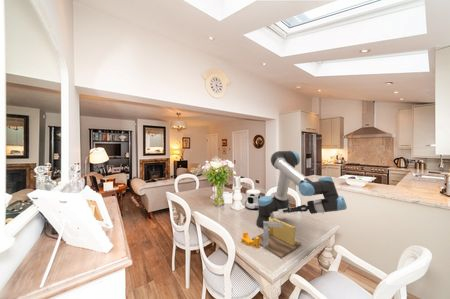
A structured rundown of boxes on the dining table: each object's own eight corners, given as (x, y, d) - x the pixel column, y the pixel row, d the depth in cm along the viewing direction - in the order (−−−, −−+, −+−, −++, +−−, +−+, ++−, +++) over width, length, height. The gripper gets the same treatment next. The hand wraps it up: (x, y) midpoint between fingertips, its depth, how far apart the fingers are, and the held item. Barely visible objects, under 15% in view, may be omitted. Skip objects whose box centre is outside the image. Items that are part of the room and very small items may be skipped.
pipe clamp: (241, 242, 123) (241, 233, 123) (245, 240, 126) (245, 231, 126) (255, 249, 115) (255, 240, 114) (259, 246, 118) (259, 237, 118)
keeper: (263, 248, 116) (263, 222, 115) (263, 245, 119) (263, 220, 118) (282, 249, 114) (282, 224, 113) (281, 247, 117) (281, 222, 116)
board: (271, 230, 139) (271, 229, 139) (301, 245, 118) (301, 243, 118) (251, 240, 126) (251, 238, 126) (281, 258, 105) (281, 256, 105)
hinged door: (267, 233, 131) (267, 213, 131) (271, 231, 134) (271, 212, 133) (291, 246, 115) (291, 223, 114) (295, 243, 118) (295, 221, 117)
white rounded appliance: (251, 203, 200) (250, 188, 200) (264, 207, 189) (264, 190, 188) (242, 208, 187) (242, 191, 187) (256, 212, 176) (256, 194, 175)
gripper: (313, 214, 95) (276, 218, 107) (321, 211, 114) (290, 215, 126) (308, 200, 98) (273, 206, 109) (318, 199, 117) (287, 204, 129)
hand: (282, 211), depth 118 cm, fingers open, 13 cm apart
